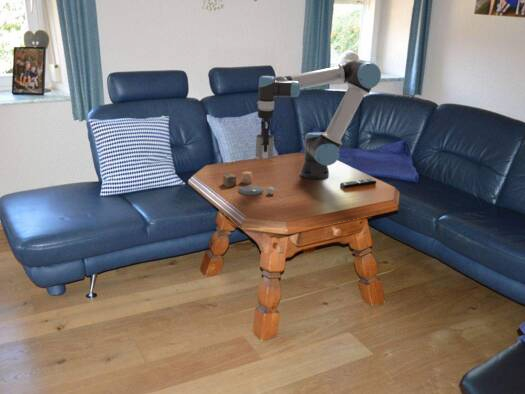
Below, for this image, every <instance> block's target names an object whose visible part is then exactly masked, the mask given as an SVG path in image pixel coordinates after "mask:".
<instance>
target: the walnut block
mask: <svg viewBox="0 0 525 394" xmlns="http://www.w3.org/2000/svg"><path fill="white" fill-rule="evenodd" d="M222 182H223V183H222V185H224V186H225V187H226V188H230V187H237V176H236V175H235V174H233V173H227V174H226V173H225V174H222Z"/></svg>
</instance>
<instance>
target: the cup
mask: <svg viewBox="0 0 525 394" xmlns="http://www.w3.org/2000/svg"><path fill="white" fill-rule="evenodd" d="M255 137H256V139H255V157H256V158H258V159H263V158H262V146H263V145H261V144H263V136H262V134H261V133H260V134H257V135H256V136H255ZM274 139H275V136H274V135H272V134H269V145H268V158H267V159H272V158H273V157H274V141H275V140H274Z"/></svg>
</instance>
